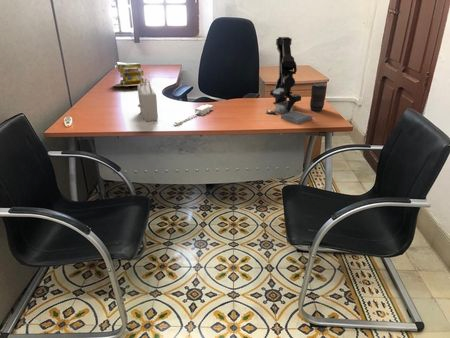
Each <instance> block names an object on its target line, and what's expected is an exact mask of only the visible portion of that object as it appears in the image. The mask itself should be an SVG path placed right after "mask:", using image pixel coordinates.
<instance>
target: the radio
mask: <svg viewBox="0 0 450 338" xmlns="http://www.w3.org/2000/svg"><path fill="white" fill-rule="evenodd" d="M139 71H140V73H141V83H140V85H137V93H138V94H137V95H138V100H139V101H138V102H139V104H137V107H138V108H139V109H140V110H139V113H140V114H141V117H143V119H144V121H145V122H153V121H158V120H159V119H158V118H159V115H158V113H159V112H158V101H157V94H156V93H155V91H154V90H153V88H152V86H151V82H150V80H149V77H145V78H144V82H145V84H143V83H142V77H143V76H142V71H143V69H141V68H139ZM146 82H148V83H147V84H146Z"/></svg>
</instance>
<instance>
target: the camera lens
mask: <svg viewBox="0 0 450 338" xmlns="http://www.w3.org/2000/svg"><path fill="white" fill-rule="evenodd" d="M310 90H311V92H310V93H311V96H310V101H309V102H310V103H309V105H310V106H309V108H310V110H311V111H313V112H322V111H323V108H324V106H325V99H326V93H327V84H326V83H325V82H324V83H323V82H314V83H312V84H311V89H310Z"/></svg>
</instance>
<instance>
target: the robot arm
mask: <svg viewBox="0 0 450 338" xmlns="http://www.w3.org/2000/svg"><path fill="white" fill-rule="evenodd" d="M292 39H293V38H292V37H289V36H278V37H277V38H276V40H275V45H276V49H277V52H278V53H279V54H278V55H279V62H278V63H279V64H278V79H277V80H276V82H275V85H274V88H273V89H271V90H270V92H269V93H270V94H269V95H270V96H272V97H273V98H274V99H275V100H274V102H272V103H273V104H274V105H276V104H277V103H280V102H284V101H287V102H288V112H289V111H290V110H291V108H292V106H293V107H294V104H295V103H298V102H301V101H302V96H301V95H299V94H296V93H295V94H293V91H292V87H294V86H295V84H296V80H295V78H294V75H296V73H297V71H298V69H297V63H296V61H295V57H293V55H292V52H291V51H292V49H291V46H292Z"/></svg>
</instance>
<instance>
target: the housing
mask: <svg viewBox="0 0 450 338" xmlns="http://www.w3.org/2000/svg"><path fill="white" fill-rule="evenodd" d="M287 101H288V100H287ZM287 101H284V102H280V103H277V104H275V109H276V114H279V115H284V114H287V113H291V112H294V105H293V106H292V108H291V110H290V111H289V112H288V102H287Z"/></svg>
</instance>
